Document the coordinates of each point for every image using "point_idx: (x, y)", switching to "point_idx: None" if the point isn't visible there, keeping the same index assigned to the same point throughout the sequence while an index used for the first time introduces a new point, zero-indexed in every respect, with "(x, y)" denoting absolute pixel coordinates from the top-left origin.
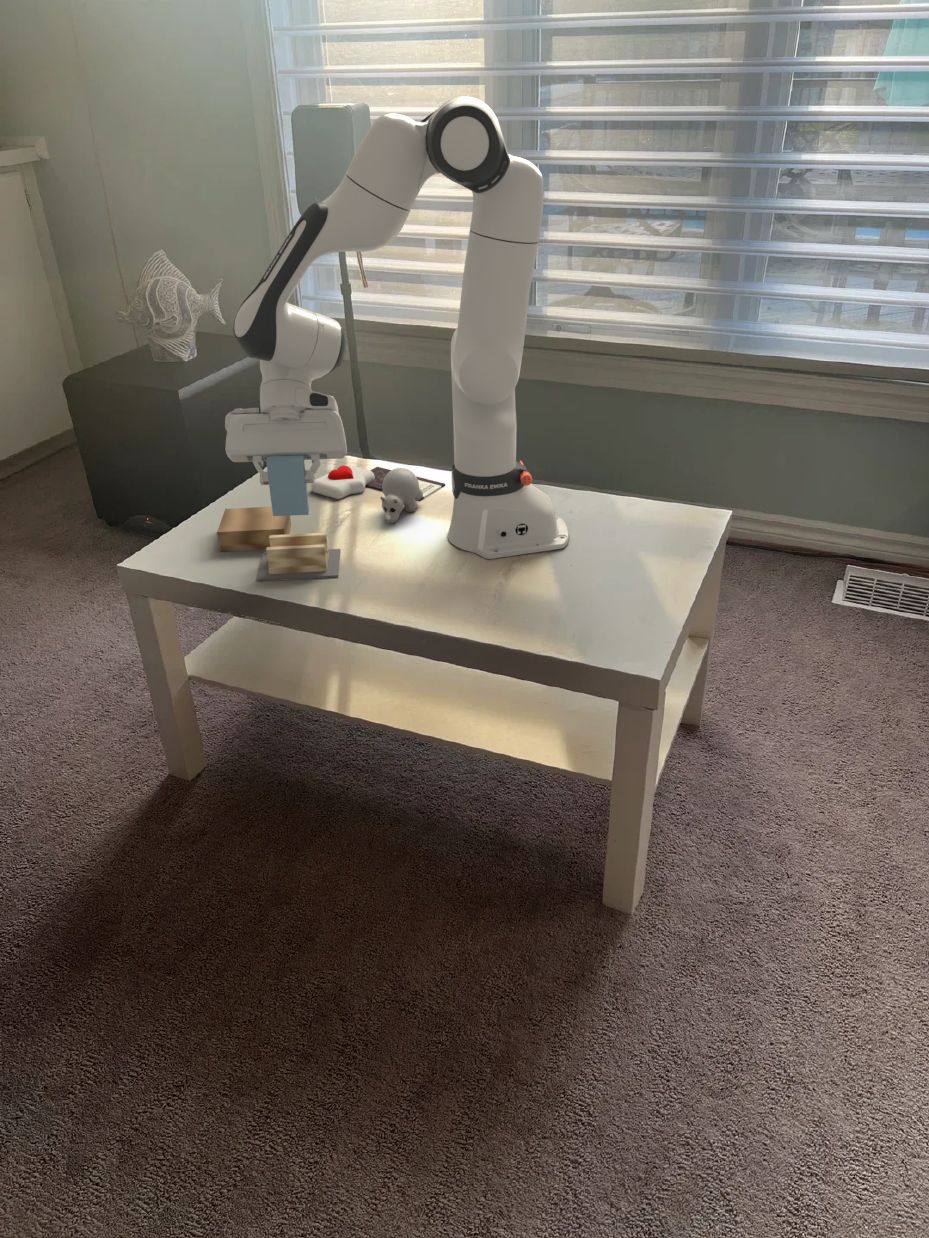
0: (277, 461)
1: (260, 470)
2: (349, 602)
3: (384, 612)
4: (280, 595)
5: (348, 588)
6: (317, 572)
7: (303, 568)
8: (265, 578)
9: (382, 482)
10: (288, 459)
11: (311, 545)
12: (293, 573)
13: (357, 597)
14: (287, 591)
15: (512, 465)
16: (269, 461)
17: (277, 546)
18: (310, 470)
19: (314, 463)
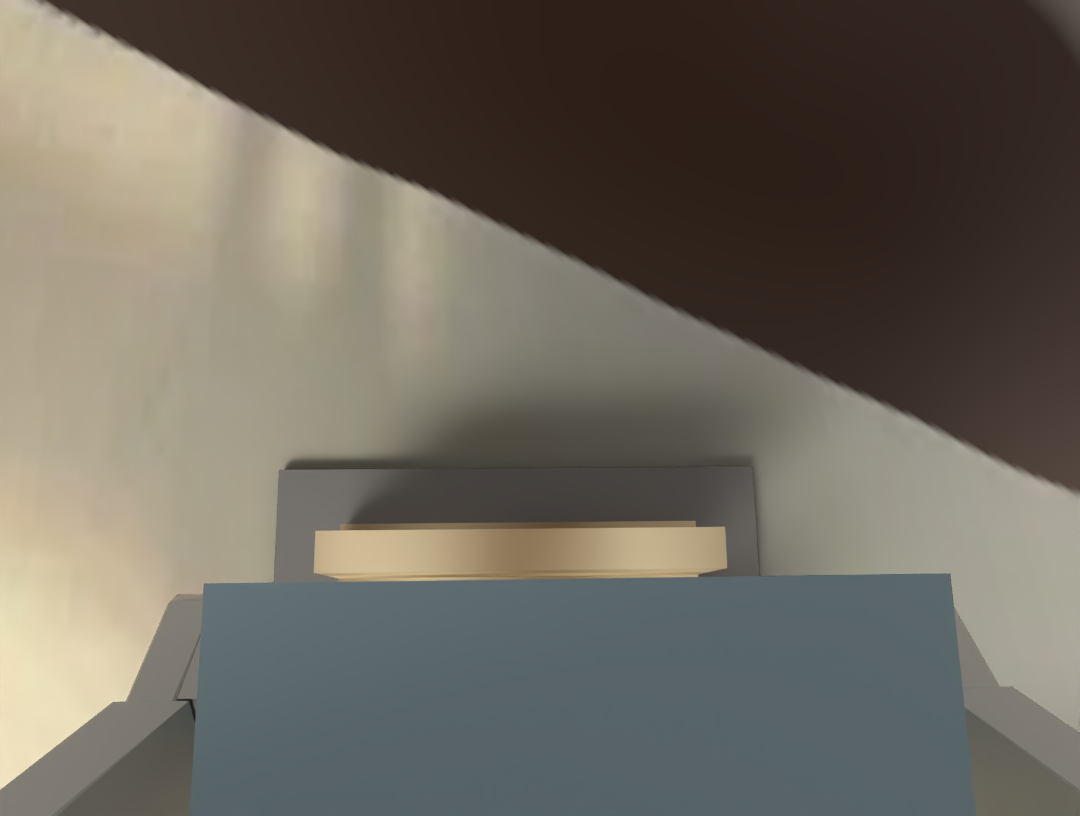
0: (722, 581)
1: (999, 699)
2: (222, 198)
3: (47, 88)
4: (593, 304)
5: (224, 341)
6: (401, 515)
7: (482, 524)
8: (701, 471)
9: None
10: (504, 638)
11: (408, 563)
12: (544, 518)
13: (177, 243)
14: (560, 342)
15: None
16: (882, 579)
17: None
18: (172, 696)
19: (49, 795)
